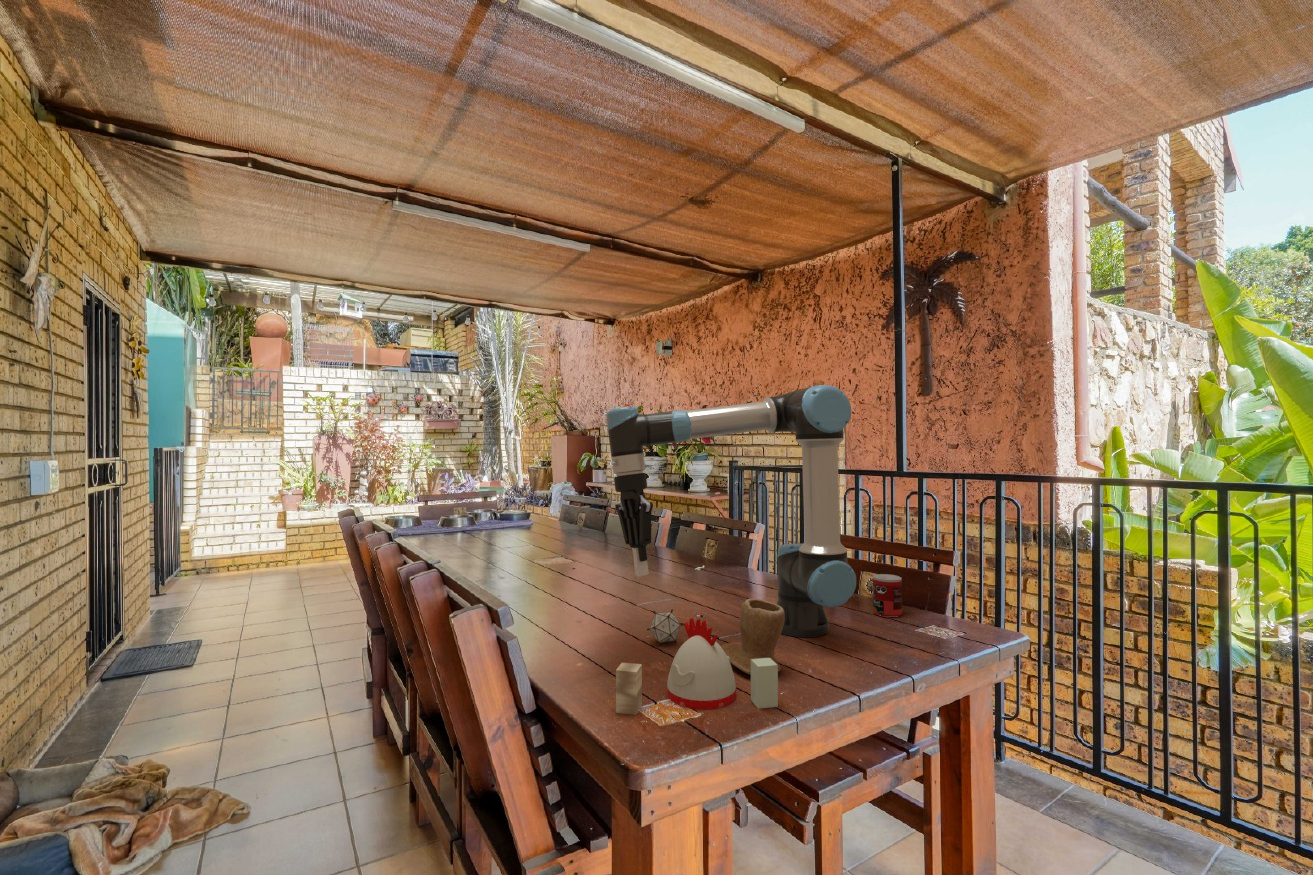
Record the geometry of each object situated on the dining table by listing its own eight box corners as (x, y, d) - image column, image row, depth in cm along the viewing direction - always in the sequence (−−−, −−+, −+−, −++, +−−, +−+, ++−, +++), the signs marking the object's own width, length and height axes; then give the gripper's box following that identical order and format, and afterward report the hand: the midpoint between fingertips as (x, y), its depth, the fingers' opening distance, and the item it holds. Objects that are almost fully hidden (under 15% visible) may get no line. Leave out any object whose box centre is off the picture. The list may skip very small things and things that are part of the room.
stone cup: (795, 675, 130) (795, 606, 130) (746, 682, 126) (746, 611, 126) (761, 652, 144) (760, 590, 145) (716, 658, 141) (716, 594, 141)
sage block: (769, 697, 119) (769, 657, 119) (777, 706, 115) (777, 664, 115) (750, 699, 118) (750, 659, 118) (758, 708, 114) (757, 666, 114)
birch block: (642, 705, 116) (641, 664, 116) (636, 714, 112) (636, 671, 112) (622, 703, 116) (622, 662, 117) (616, 712, 113) (615, 670, 113)
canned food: (870, 610, 180) (870, 573, 180) (898, 611, 179) (898, 574, 179) (876, 617, 172) (875, 579, 172) (905, 618, 171) (905, 580, 171)
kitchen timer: (698, 675, 131) (697, 606, 131) (749, 693, 121) (749, 619, 121) (653, 694, 121) (652, 620, 121) (705, 716, 111) (704, 635, 111)
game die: (670, 659, 150) (679, 635, 144) (639, 645, 152) (646, 620, 146) (682, 632, 157) (690, 608, 152) (652, 619, 159) (659, 595, 153)
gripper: (601, 477, 142) (613, 576, 141) (630, 473, 132) (644, 580, 131) (628, 473, 147) (640, 569, 146) (658, 470, 136) (671, 573, 135)
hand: (642, 575), depth 138 cm, fingers closed
